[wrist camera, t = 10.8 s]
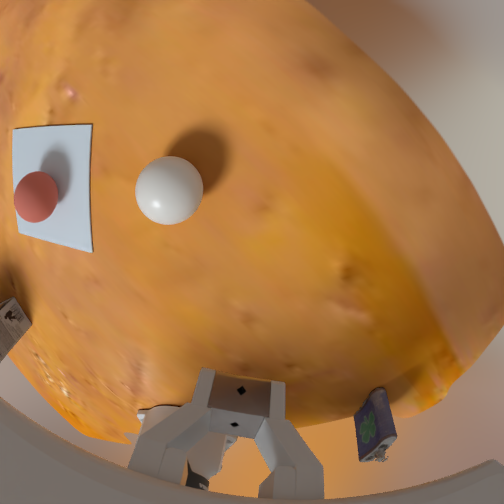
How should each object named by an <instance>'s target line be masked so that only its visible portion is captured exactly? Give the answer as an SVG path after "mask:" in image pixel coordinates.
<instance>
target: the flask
mask: <svg viewBox="0 0 504 504" xmlns="http://www.w3.org/2000/svg"><path fill="white" fill-rule="evenodd" d="M382 388H383V387H382ZM382 388H376V389H375V390H374V391H372V392H371V393H370V394H369V397H368V398H367V399H366V400H365V401H364V402H363V405H362V407H361V408H360V409H359V411H357V412H356V414H354V415H353V416H354V421H355V428H356V437H357V445H358V453H359V454H358V455H359V461H360V462H369V461H373V460H374V459H375V458H377V459H376V460H375V461H377V460H378V461H379V462H381V461H382V460H383V459H385V456H384V455H385V453H386V452H385V450H386V449H387V448H388V447H389V446H390V445H392V443H393V442H394V441H395V440H396V438H397V433H396V430H395V425H394V422H393V418H392V414H391V410H390V406H389V401H388V397H387V393H386V390H385V388H383V389H382ZM387 458H388V456H387ZM387 458H386V459H385V460H383V461H382V462H384V461H386V460H387Z"/></svg>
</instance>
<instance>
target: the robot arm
mask: <svg viewBox="0 0 504 504" xmlns="http://www.w3.org/2000/svg"><path fill="white" fill-rule="evenodd" d="M137 417H138V418H139V420H140V421H141V423H142V425H141V428H140V431H139V435H138V438H137V441H136V445H135V449H134V452H133V454H132V457H131V460H130V462H129V465H128V468H125V467H123V466H120V465H117V464H115V463H113V462H110V461H108V460H105V459H103V458H101V457H99V456H96V455H94V454H92V453H90V452H88V451H86V450H84V449H82V448H80V447H78V446H76V445H74V444H72V443H70V442H68V441H66V440H64V439H63V438H61V437H59V436H57V435H56V434H54V433H52V432H51V431H49V430H47V429H46V428H44V427H42V426H41V425H39V424H38V423H36V422H34V421H33V420H31V419H30V418H28V417H27V416H26V415H24V414H23V413H21V412H20V411H18V410H17V409H16V408H14V407H13V406H11V405H10V404H9V403H7V402H6V401H5V400H3V399H2V398H1V397H0V504H504V466H503V465H502V464H501V463H499V462H498V461H496V460H494V459H491V460H487V461H485V462H483V463H481V464H478V465H476V466H473V467H471V468H469V469H466V470H464V471H461V472H458V473H456V474H453V475H450V476H447V477H444V478H441V479H437V480H434V481H431V482H427V483H424V484H420V485H416V486H412V487H408V488H404V489H399V490H394V491H389V492H384V493H378V494H371V495H364V496H357V497H347V498H336V499H324V476H323V475H324V474H323V466H322V465H321V463H320V462H319V461H318V459H317V458H316V457H315V455H314V454H313V452H312V451H311V450H310V449H309V447H308V446H307V444H306V443H305V442H304V440H303V439H302V437H301V436H300V435H299V433H298V432H297V430H296V429H295V428H294V426H293V425H292V423H291V422H290V421H289V420H285V382H280V381H273V380H268V379H261V378H255V377H248V376H240V375H235V374H230V373H226V372H221V371H217V370H213V369H208V368H204V367H202V369H201V371H200V374H199V377H198V381H197V384H196V388H195V391H194V395H193V398H192V402H191V403H186V404H184V405H183V406H182V407H175V406H157V407H154V408H152V409H150V410H138V413H137ZM238 436H240V437H246V438H252V439H254V441H255V443H256V445H257V447H258V449H259V451H260V452H261V454H262V456H263V458H264V460H265V462H266V464H267V466H268V467H269V469H270V471H271V474H270V475H269V476H268V477H267V478H266V479H265V480H264V481H263V482H262V483H261V484H260V485H259V494H258V498H254V497H244V496H236V495H229V494H223V493H217V492H211V491H208V486H209V481H208V480H209V479H210V477H212V476H214V475H216V474H217V473H218V472H220V470H221V469H222V460H223V456H224V452H225V451H226V450H227V449H228V448H229V447H230V446H232V445H233V444H234V443H235V442H236V441H237V437H238Z"/></svg>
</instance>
